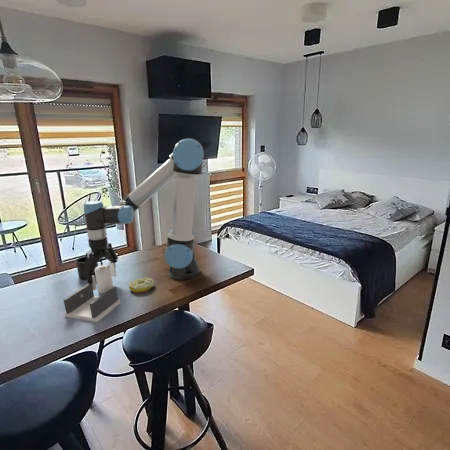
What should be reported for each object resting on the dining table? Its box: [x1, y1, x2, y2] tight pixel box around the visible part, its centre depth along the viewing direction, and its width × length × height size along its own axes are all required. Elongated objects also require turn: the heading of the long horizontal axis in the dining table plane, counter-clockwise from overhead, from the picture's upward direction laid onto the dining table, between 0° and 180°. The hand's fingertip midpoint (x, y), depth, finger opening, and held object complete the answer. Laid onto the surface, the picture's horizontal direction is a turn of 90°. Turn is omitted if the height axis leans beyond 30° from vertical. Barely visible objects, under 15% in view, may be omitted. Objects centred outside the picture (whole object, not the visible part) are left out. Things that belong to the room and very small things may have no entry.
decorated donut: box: [128, 277, 155, 294], centre depth 142 cm, size 10×11×4 cm
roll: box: [95, 264, 114, 295], centre depth 140 cm, size 6×6×11 cm
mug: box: [75, 255, 104, 281], centre depth 157 cm, size 9×12×9 cm
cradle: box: [62, 283, 121, 323], centre depth 125 cm, size 15×14×8 cm
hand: (103, 282), depth 141 cm, fingers open, 13 cm apart
